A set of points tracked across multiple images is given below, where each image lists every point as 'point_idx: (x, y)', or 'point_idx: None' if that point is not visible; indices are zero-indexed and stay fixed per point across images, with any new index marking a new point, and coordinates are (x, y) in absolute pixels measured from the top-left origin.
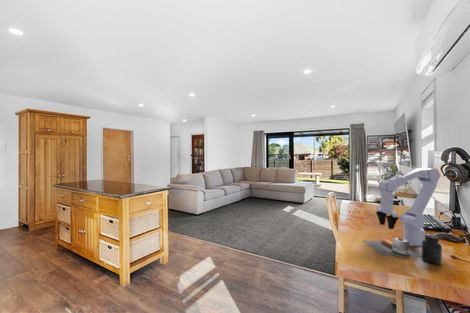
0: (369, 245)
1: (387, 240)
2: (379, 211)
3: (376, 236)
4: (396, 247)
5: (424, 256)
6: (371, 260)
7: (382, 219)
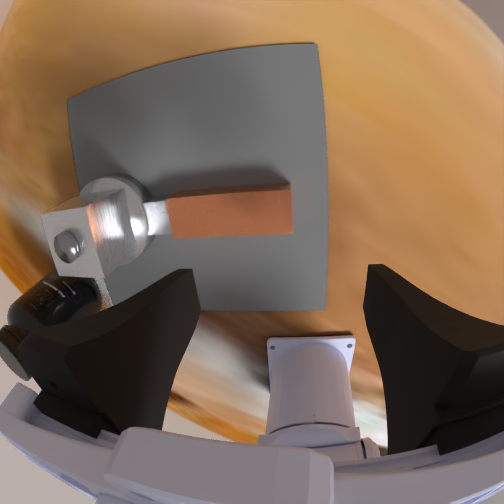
0: (202, 58)
1: (249, 218)
2: (485, 416)
3: (432, 231)
4: (88, 195)
5: (50, 272)
6: (34, 44)
7: (389, 335)
